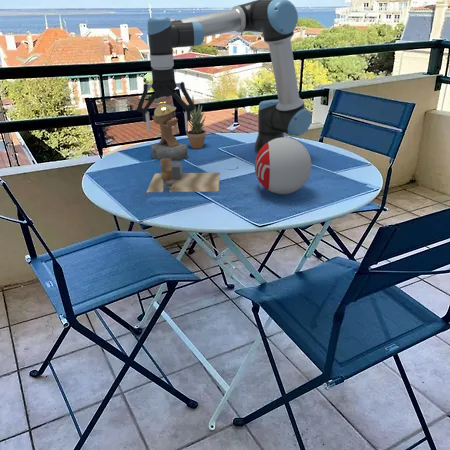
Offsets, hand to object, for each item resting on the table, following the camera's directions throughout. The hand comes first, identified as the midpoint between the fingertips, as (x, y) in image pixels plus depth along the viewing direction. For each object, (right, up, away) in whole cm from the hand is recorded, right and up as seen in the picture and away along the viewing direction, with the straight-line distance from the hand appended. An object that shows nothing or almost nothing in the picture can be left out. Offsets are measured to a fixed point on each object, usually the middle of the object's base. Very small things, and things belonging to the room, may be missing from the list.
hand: (168, 130), depth 160 cm
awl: (-1, -19, +7) cm, 20 cm away
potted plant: (+7, +4, +58) cm, 58 cm away
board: (+5, -19, +11) cm, 22 cm away
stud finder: (0, -15, +16) cm, 22 cm away
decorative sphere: (+41, -22, +3) cm, 47 cm away
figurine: (-4, -3, +44) cm, 44 cm away
